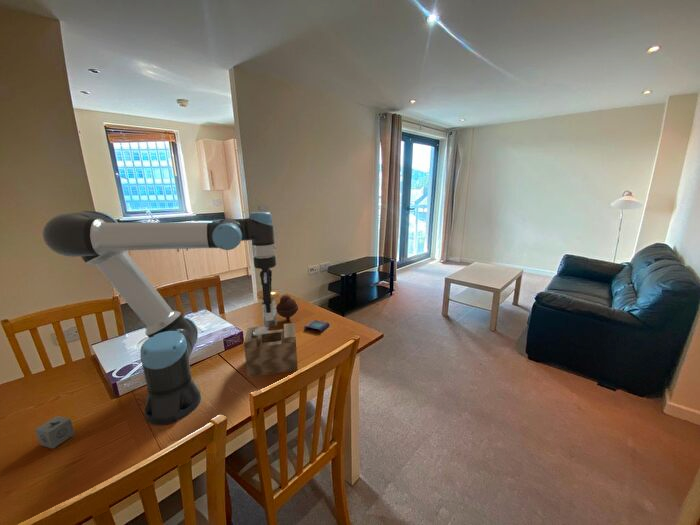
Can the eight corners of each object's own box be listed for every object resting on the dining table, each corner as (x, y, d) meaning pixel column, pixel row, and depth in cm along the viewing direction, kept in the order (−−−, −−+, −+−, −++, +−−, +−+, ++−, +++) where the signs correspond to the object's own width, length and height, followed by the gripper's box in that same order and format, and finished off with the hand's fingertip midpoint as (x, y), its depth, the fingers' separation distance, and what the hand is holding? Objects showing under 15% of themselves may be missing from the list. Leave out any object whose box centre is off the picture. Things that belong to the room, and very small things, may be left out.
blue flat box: (303, 325, 140) (315, 318, 149) (303, 331, 140) (315, 323, 150) (320, 329, 136) (331, 321, 145) (320, 335, 136) (331, 327, 146)
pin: (281, 328, 108) (278, 295, 105) (259, 330, 106) (255, 297, 103) (281, 319, 115) (278, 288, 112) (260, 321, 114) (257, 290, 111)
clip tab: (252, 337, 108) (251, 335, 107) (253, 331, 112) (252, 329, 112) (268, 331, 108) (267, 329, 108) (268, 325, 113) (267, 323, 113)
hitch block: (247, 377, 107) (243, 342, 104) (250, 359, 118) (247, 327, 115) (297, 369, 111) (295, 336, 107) (296, 353, 122) (294, 322, 119)
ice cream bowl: (273, 327, 146) (270, 299, 142) (284, 318, 156) (282, 291, 153) (292, 330, 143) (290, 301, 139) (302, 320, 153) (300, 293, 150)
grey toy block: (52, 448, 78) (48, 432, 77) (39, 444, 79) (35, 429, 78) (74, 434, 82) (70, 418, 81) (62, 430, 84) (57, 415, 83)
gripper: (274, 260, 97) (280, 326, 102) (275, 250, 114) (280, 307, 119) (250, 262, 95) (257, 328, 101) (255, 251, 112) (260, 309, 118)
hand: (269, 316), depth 110 cm, fingers closed on pin, 5 cm apart
